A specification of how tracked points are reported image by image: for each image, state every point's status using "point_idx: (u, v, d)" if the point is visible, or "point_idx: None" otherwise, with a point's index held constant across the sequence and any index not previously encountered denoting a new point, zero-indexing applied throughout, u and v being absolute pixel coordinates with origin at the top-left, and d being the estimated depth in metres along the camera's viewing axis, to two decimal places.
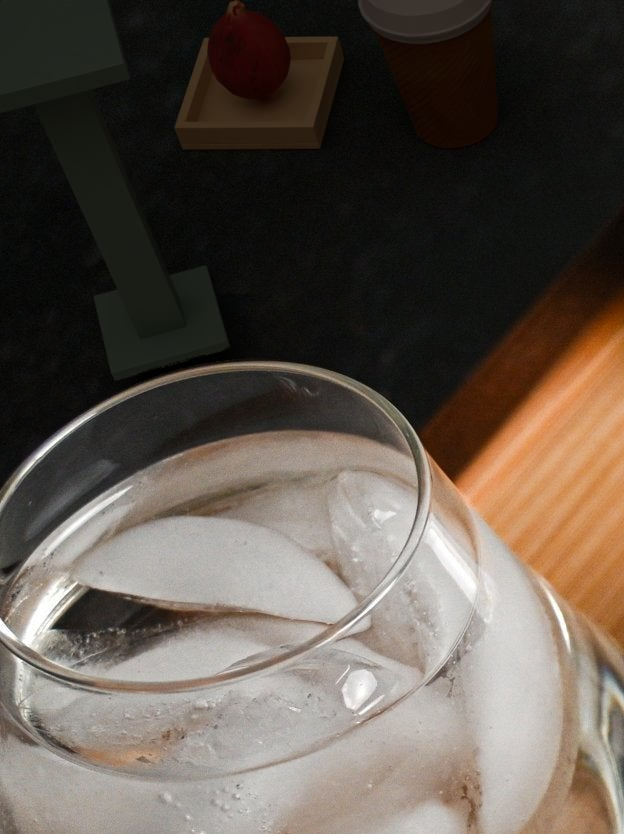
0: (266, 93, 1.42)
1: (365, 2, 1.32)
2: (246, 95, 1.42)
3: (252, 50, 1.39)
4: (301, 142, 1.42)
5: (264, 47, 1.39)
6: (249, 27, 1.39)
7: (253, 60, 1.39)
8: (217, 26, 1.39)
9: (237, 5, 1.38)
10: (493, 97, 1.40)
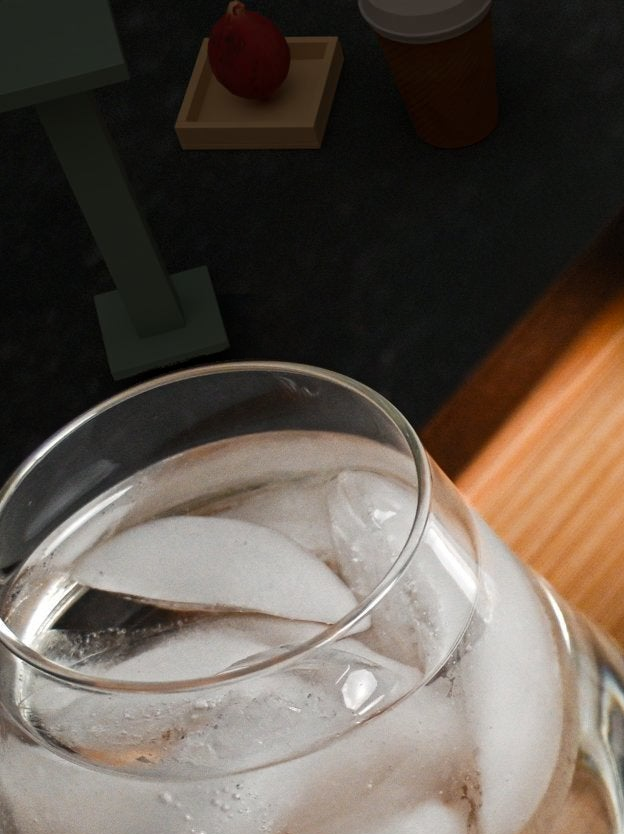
0: (266, 93, 1.42)
1: (365, 2, 1.32)
2: (246, 95, 1.42)
3: (252, 50, 1.39)
4: (301, 142, 1.42)
5: (264, 47, 1.39)
6: (249, 27, 1.39)
7: (253, 60, 1.39)
8: (217, 26, 1.39)
9: (237, 5, 1.38)
10: (493, 97, 1.40)
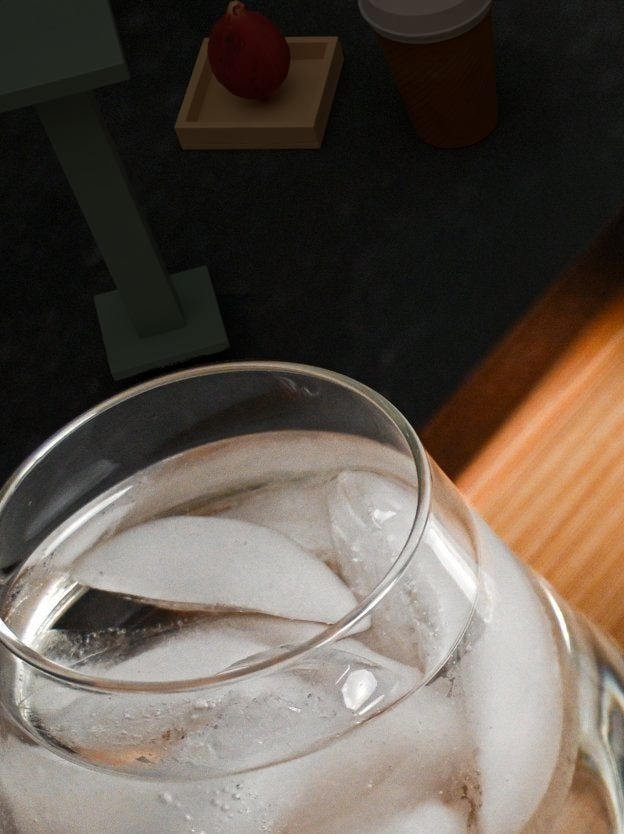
0: (266, 93, 1.42)
1: (365, 2, 1.32)
2: (246, 95, 1.42)
3: (252, 50, 1.39)
4: (301, 142, 1.42)
5: (264, 47, 1.39)
6: (249, 27, 1.39)
7: (253, 60, 1.39)
8: (217, 26, 1.39)
9: (237, 5, 1.38)
10: (493, 97, 1.40)
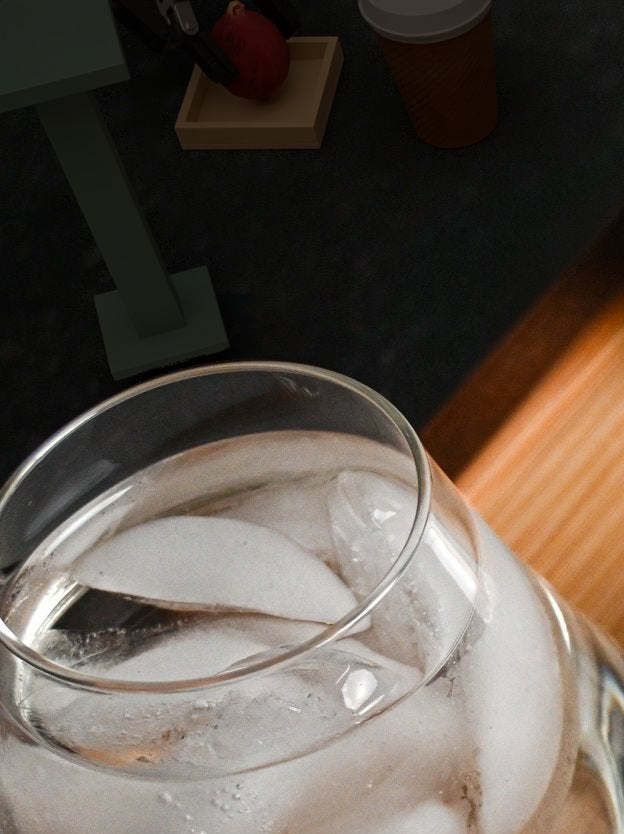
0: (266, 93, 1.42)
1: (365, 2, 1.32)
2: (246, 95, 1.42)
3: (252, 51, 1.39)
4: (301, 142, 1.42)
5: (264, 48, 1.39)
6: (249, 27, 1.39)
7: (253, 60, 1.39)
8: (217, 26, 1.39)
9: (237, 6, 1.38)
10: (493, 97, 1.40)
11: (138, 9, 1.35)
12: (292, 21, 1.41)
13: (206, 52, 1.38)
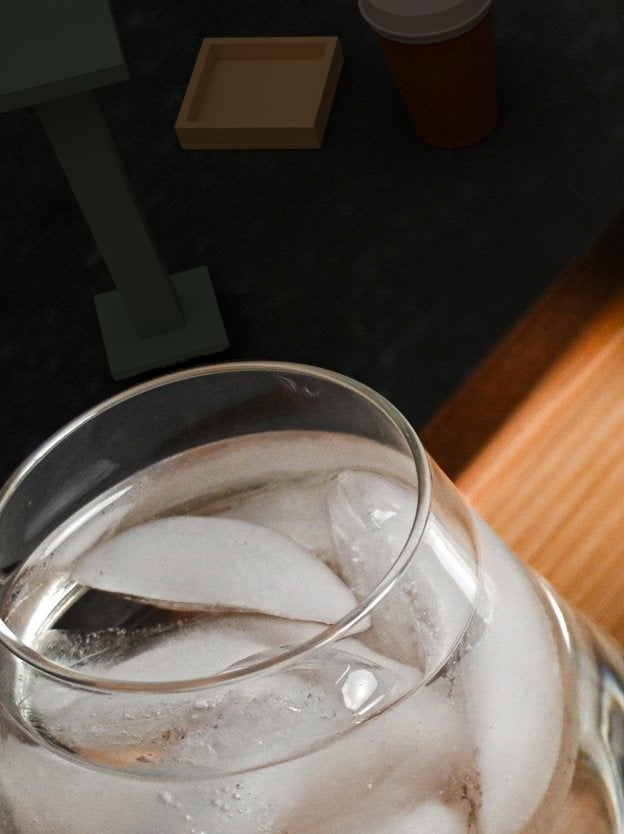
0: None
1: (365, 2, 1.32)
2: None
3: None
4: (301, 142, 1.42)
5: None
6: None
7: None
8: None
9: None
10: (493, 97, 1.40)
11: None
12: None
13: None
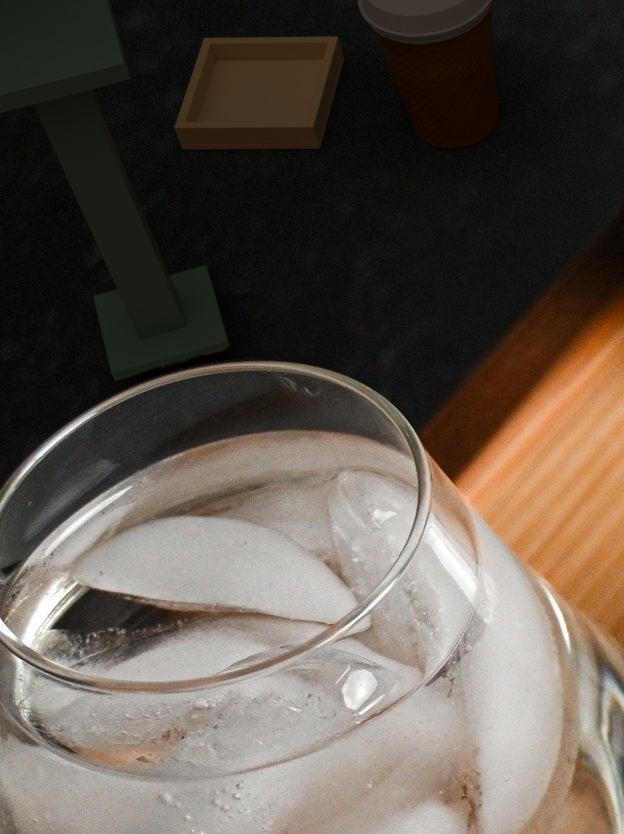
0: None
1: (365, 2, 1.32)
2: None
3: None
4: (301, 142, 1.42)
5: None
6: None
7: None
8: None
9: None
10: (493, 97, 1.40)
11: None
12: None
13: None
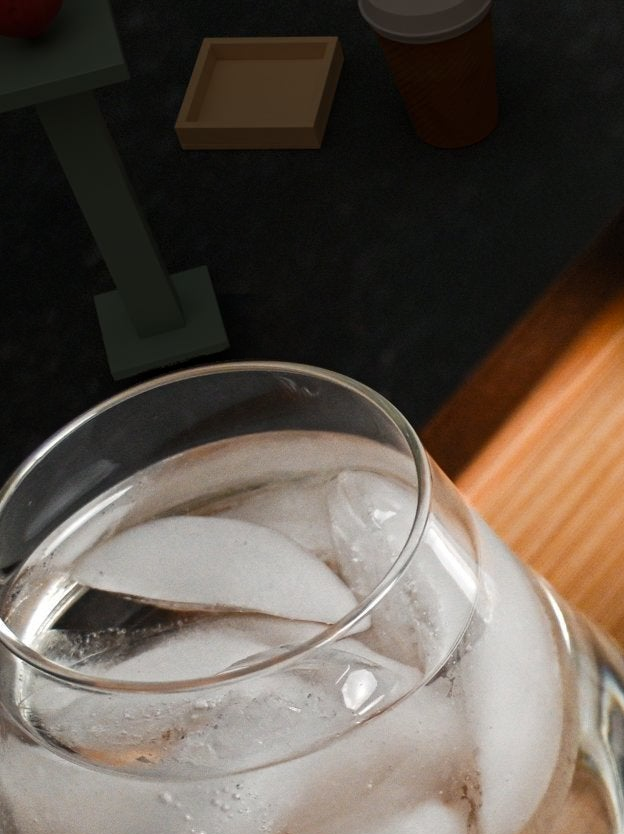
0: (32, 30, 1.11)
1: (365, 2, 1.32)
2: (6, 31, 1.10)
3: None
4: (301, 142, 1.42)
5: None
6: None
7: None
8: None
9: None
10: (493, 97, 1.40)
11: None
12: None
13: None
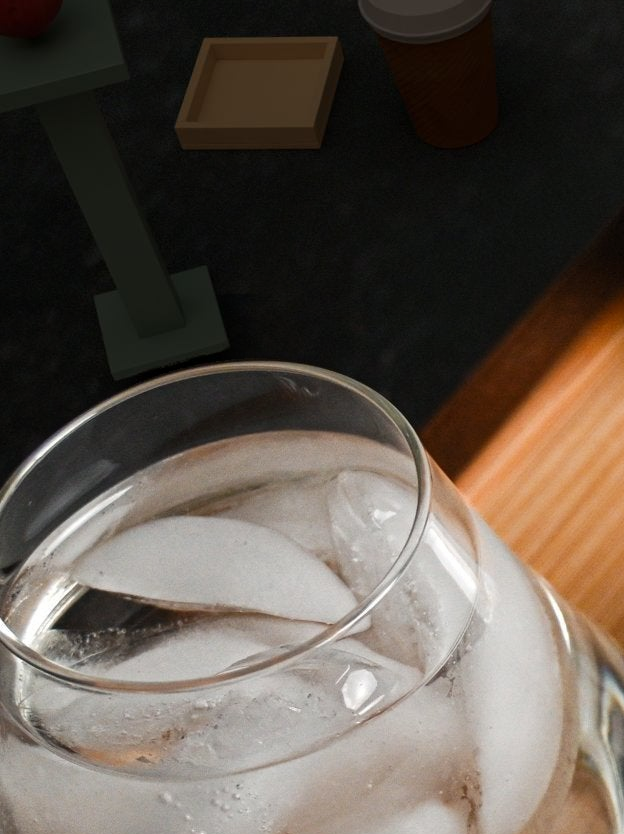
0: (32, 30, 1.11)
1: (365, 2, 1.32)
2: (6, 31, 1.10)
3: None
4: (301, 142, 1.42)
5: None
6: None
7: None
8: None
9: None
10: (493, 97, 1.40)
11: None
12: None
13: None
